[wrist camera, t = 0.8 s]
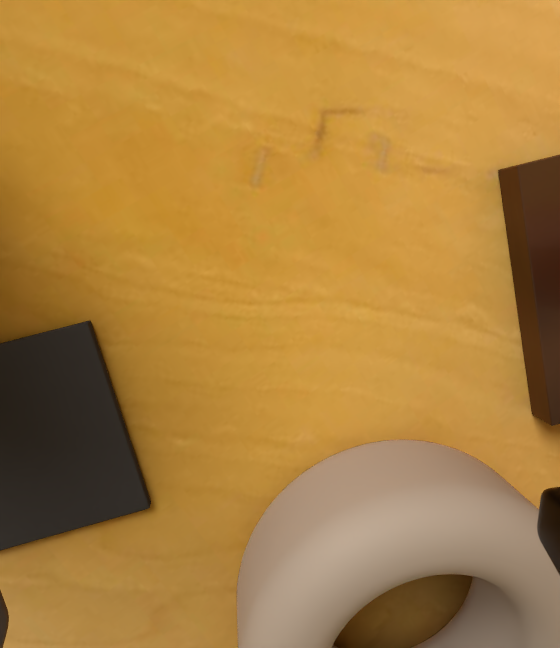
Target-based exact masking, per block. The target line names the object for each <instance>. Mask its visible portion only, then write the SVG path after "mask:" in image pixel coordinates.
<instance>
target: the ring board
mask: <svg viewBox="0 0 560 648" xmlns="http://www.w3.org/2000/svg"><path fill="white" fill-rule="evenodd" d="M498 173H499V180H500V187H501V194H502V201H503V208H504V216H505V223H506V230H507V237H508V244H509V251H510V259H511V266H512V273H513V280H514V287H515V294H516V301H517V309H518V316H519V323H520V330H521V337H522V344H523V352H524V359H525V366H526V373H527V380H528V387H529V394H530V402H531V409H532V414H533V415H534V416H536V417H538V418H539V419H541V420H543V421H544V422H546V423H548V424H550V425H551V426H553V425H557V424H560V155H556V156H552V157H548V158H544V159H540V160H536V161H532V162H528V163H524V164H520V165H516V166H512V167H508V168H504V169H500V170H498Z"/></svg>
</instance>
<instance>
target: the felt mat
mask: <svg viewBox="0 0 560 648" xmlns="http://www.w3.org/2000/svg"><path fill="white" fill-rule="evenodd" d="M150 504H151V501H150V498H149V495H148V492H147V489H146V486H145V483H144V480H143V477H142V474H141V471H140V468H139V465H138V462H137V459H136V456H135V453H134V450H133V447H132V444H131V441H130V438H129V435H128V432H127V429H126V426H125V423H124V420H123V417H122V414H121V411H120V408H119V405H118V402H117V399H116V396H115V393H114V390H113V387H112V384H111V381H110V378H109V375H108V372H107V369H106V366H105V363H104V360H103V357H102V354H101V351H100V348H99V345H98V342H97V339H96V336H95V333H94V330H93V327H92V324H91V322H90V321H86V322H82V323H78V324H74V325H71V326H67V327H63V328H59V329H55V330H51V331H47V332H43V333H39V334H35V335H31V336H28V337H24V338H20V339H16V340H12V341H8V342H4V343H0V550H3V549H7V548H10V547H14V546H17V545H21V544H24V543H28V542H31V541H35V540H38V539H42V538H46V537H49V536H53V535H56V534H60V533H63V532H67V531H70V530H74V529H77V528H81V527H85V526H88V525H92V524H95V523H99V522H102V521H106V520H109V519H113V518H116V517H120V516H123V515H127V514H131V513H134V512H138V511H141V510H145V509H148V508H150Z"/></svg>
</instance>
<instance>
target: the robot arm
mask: <svg viewBox="0 0 560 648" xmlns="http://www.w3.org/2000/svg"><path fill="white" fill-rule="evenodd" d="M537 532H538V536H539V539H540V541H541V543H542V545H543V547H544V549H545V550H546V552H547V554H548V556H549V557H550V559H551V561H552V563H553V564H554V566H555V568H556V570H557V571H558V573H559V575H560V487H555V488H549V489H546V490H544V491H543V493H542V495H541V500H540V507H539V514H538V521H537ZM8 622H9V615H8V610H7V607H6V604H5V601H4V599H3V596H2V593H1V591H0V648H3V644H4V641H5V637H6V633H7V629H8Z"/></svg>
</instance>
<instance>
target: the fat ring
mask: <svg viewBox="0 0 560 648" xmlns="http://www.w3.org/2000/svg"><path fill="white" fill-rule="evenodd" d="M538 514H539V509H538V508H536V507H535V506H534V505H533V504H532V503H531V502H530V501H528V500H527V499H526V498H525V497H524V496H523V495H522V494H520V493H519V492H518V491H517V490H516V489H515V488H514V487H512V486H511V485H510V484H509V483H508V482H507V481H506V480H505V479H503V478H502V477H501V476H500V475H499V474H498V473H496V472H495V471H494V470H493V469H491V468H490V467H489V466H487V465H486V464H484V463H483V462H481V461H479V460H478V459H476V458H474V457H472V456H470V455H468V454H466V453H464V452H462V451H459V450H457V449H454V448H451V447H448V446H445V445H441V444H437V443H432V442H426V441H418V440H387V441H379V442H373V443H368V444H364V445H360V446H356V447H353V448H350V449H347V450H344V451H342V452H339V453H337V454H335V455H332V456H330V457H328V458H326V459H324V460H322V461H321V462H319V463H317V464H315V465H314V466H312V467H311V468H309V469H308V470H306V471H305V472H303V473H302V474H301V475H300V476H298V477H297V478H296V479H295V480H293V481H292V482H291V483H290V484H289V485H288V486H287V487H286V488H285V489H284V490H283V491H282V492H281V493H280V494H279V495H278V496H277V497H276V498H275V499H274V500H273V502H272V503H271V504H270V505H269V507H268V508H267V509H266V511H265V512H264V514H263V515H262V517H261V518H260V520H259V521H258V523H257V525H256V527H255V528H254V530H253V532H252V534H251V537H250V539H249V541H248V544H247V546H246V549H245V552H244V555H243V558H242V562H241V566H240V570H239V576H238V583H237V627H238V648H338V647H336V646H334V645H333V644H334V642H335V640H336V638H337V637H338V635H339V634H340V632H341V631H342V629H343V628H344V627H345V625H346V624H347V623H348V622H349V621H350V620H351V618H352V617H353V616H354V615H355V614H356V613H357V612H358V611H360V610H361V609H362V608H363V607H364V606H366V605H367V604H368V603H369V602H371V601H372V600H374V599H375V598H377V597H378V596H380V595H381V594H383V593H385V592H387V591H388V590H390V589H392V588H394V587H397V586H399V585H401V584H404V583H406V582H409V581H412V580H415V579H419V578H423V577H427V576H433V575H442V574H460V575H469V576H473V577H472V582H471V586H470V589H469V592H468V594H467V597H466V599H465V601H464V603H463V604H462V606H461V608H460V609H459V611H458V612H457V613H456V615H455V616H454V617H453V618H452V619H451V621H450V622H449V623H448V624H447V625H446V626H445V627H443V628H442V629H441V630H440V631H439V632H437V633H436V634H435V635H433V636H432V637H430V638H429V639H427V640H425V641H424V642H422V643H420V644H418V645H416V646H413V647H411V648H560V575H559V573H558V571H557V570H556V568H555V566H554V564H553V563H552V561H551V559H550V557H549V556H548V554H547V552H546V550H545V549H544V547H543V545H542V543H541V541H540V539H539V536H538V532H537V521H538Z"/></svg>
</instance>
